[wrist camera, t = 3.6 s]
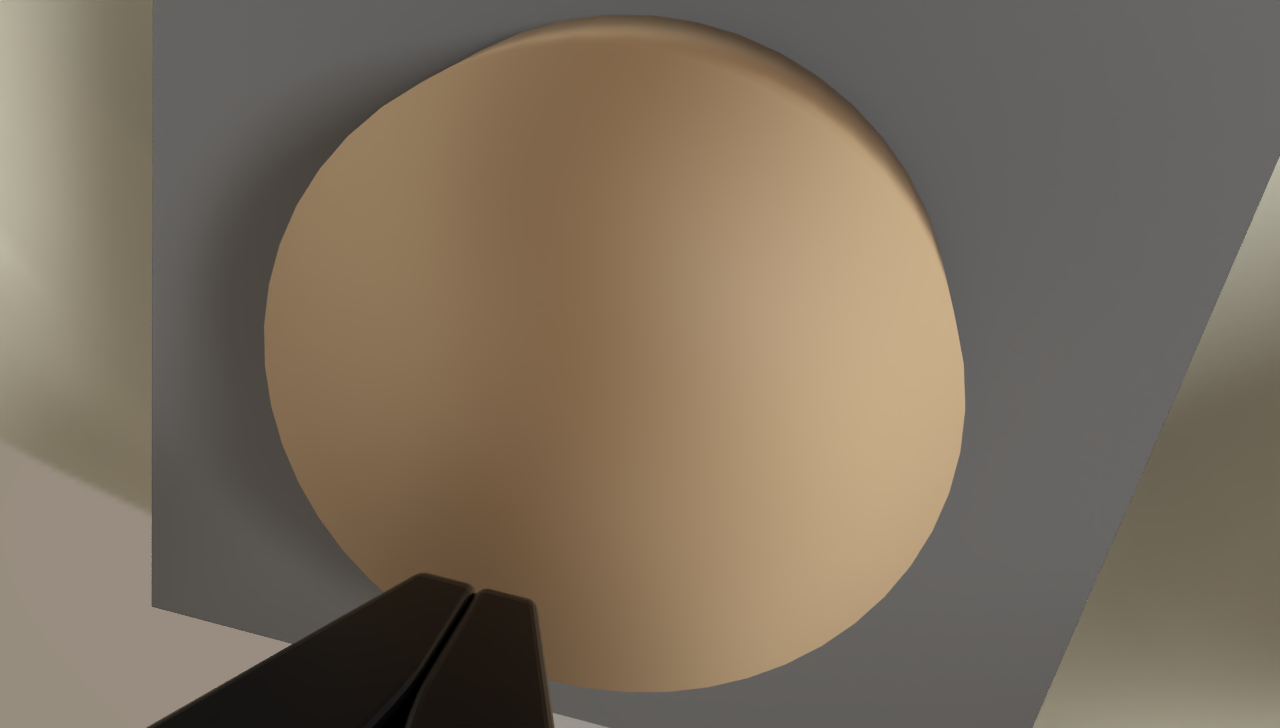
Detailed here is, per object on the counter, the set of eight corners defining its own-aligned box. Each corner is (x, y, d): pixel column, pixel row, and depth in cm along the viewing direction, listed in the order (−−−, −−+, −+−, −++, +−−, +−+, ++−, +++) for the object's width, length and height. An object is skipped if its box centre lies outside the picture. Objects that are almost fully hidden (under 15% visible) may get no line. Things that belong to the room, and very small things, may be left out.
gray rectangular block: (1208, -131, 16) (1399, -122, 10) (920, 655, 22) (945, 929, 16) (383, -297, 17) (153, -370, 11) (322, 502, 23) (151, 713, 17)
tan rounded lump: (993, 37, 15) (1072, 141, 10) (853, 488, 18) (855, 760, 13) (478, -73, 16) (281, -32, 10) (425, 383, 19) (251, 601, 13)
